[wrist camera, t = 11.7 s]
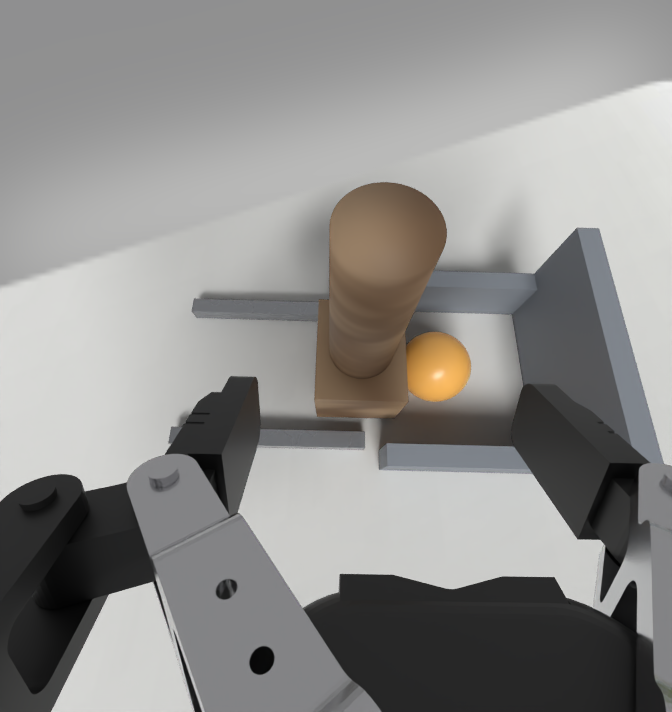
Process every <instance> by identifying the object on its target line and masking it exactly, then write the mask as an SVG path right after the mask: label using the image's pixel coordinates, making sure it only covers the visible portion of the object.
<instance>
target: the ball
mask: <svg viewBox="0 0 672 712" xmlns="http://www.w3.org/2000/svg"><path fill="white" fill-rule="evenodd" d="M406 359H407V380H408V390H409V391H410V392H411V393H412V394H413V395H415V396H416V397H418V398H420V399H423V400H426V401H432V402H438V401H444V400H447V399H450V398H452V397H454V396H455V395H457V394H458V393H459V392H460V391H462V389H463V388H464V387H465V385H466V384H467V382H468V379H469V377H470V373H471V361H470V357H469V354H468V352H467V350H466V348H465V347H464V345H463V344H462V343H461V342H460V341H459V340H457V339H456V338H454V337H453V336H451V335H449V334H446V333H442V332H427V333H423V334H420V335H418V336H416V337H415V338H413V339H412V340H411V341H410V342H409V343H408V344H407V345H406Z"/></svg>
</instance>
